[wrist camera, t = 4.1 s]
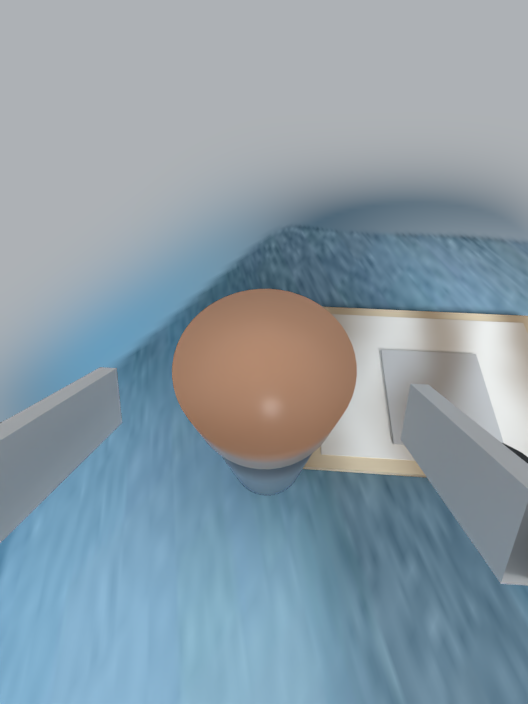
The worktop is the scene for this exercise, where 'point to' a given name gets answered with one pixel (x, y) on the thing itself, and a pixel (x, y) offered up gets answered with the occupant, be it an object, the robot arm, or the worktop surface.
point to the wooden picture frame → (426, 382)
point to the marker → (264, 382)
